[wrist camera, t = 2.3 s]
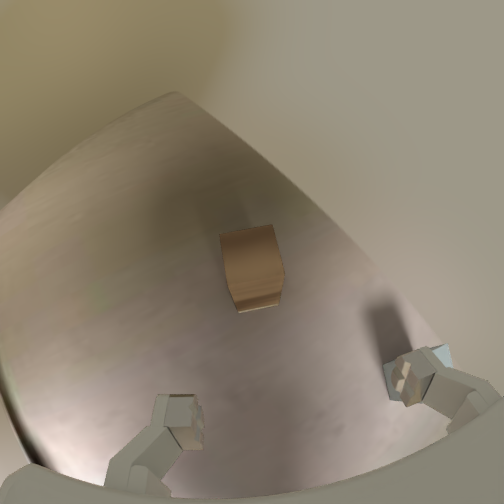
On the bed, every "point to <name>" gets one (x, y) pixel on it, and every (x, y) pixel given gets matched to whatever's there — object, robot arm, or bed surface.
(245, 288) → the walnut block
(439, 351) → the bluegrey block
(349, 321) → the bed surface
